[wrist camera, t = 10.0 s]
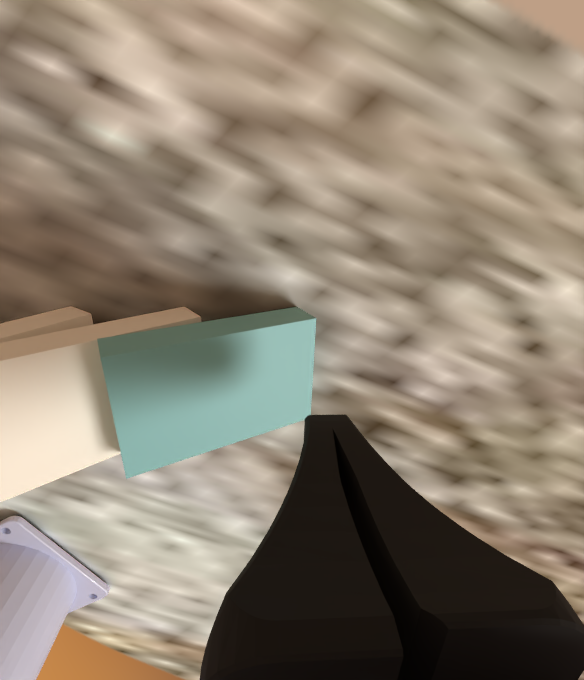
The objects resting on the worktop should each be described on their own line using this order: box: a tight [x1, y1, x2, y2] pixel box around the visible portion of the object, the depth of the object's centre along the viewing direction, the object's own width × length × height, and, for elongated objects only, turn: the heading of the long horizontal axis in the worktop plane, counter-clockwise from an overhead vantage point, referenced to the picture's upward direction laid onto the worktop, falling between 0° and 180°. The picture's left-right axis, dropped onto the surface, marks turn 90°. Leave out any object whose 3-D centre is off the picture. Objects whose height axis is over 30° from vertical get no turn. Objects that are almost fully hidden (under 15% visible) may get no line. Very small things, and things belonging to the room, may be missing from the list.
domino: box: [0, 307, 201, 502], centre depth 14 cm, size 2×5×8 cm
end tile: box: [97, 307, 316, 479], centre depth 15 cm, size 2×5×8 cm
